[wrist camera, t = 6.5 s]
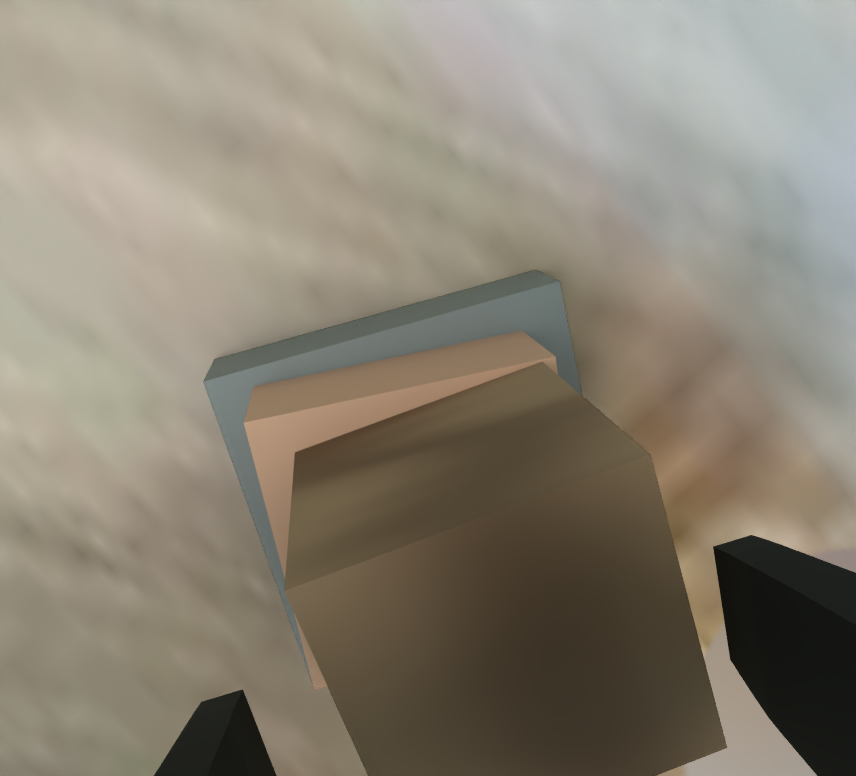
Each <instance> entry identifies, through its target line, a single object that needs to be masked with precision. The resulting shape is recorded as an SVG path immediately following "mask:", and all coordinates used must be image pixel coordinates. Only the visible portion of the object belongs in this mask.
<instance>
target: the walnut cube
mask: <svg viewBox="0 0 856 776" xmlns="http://www.w3.org/2000/svg"><path fill="white" fill-rule="evenodd" d="M284 592H285V594H286V596H287V598H288V601H289V603H290V605H291V607H292V609H293V612H294V614H295V616H296V618H297V620H298V623H299V625H300V627H301V629H302V631H303V634H304V636H305V638H306V640H307V642H308V645H309V647H310V649H311V651H312V653H313V655H314V658H315V660H316V662H317V664H318V666H319V669H320V671H321V673H322V675H323V677H324V680H325V682H326V684H327V686H328V688H329V691H330V693H331V695H332V697H333V699H334V702H335V704H336V706H337V708H338V710H339V713H340V715H341V717H342V719H343V721H344V724H345V726H346V728H347V730H348V732H349V735H350V737H351V739H352V741H353V743H354V745H355V748H356V750H357V752H358V754H359V756H360V759H361V761H362V763H363V765H364V767H365V770H366V772H367V774H368V776H656V775H658V774H661V773H664V772H666V771H669V770H671V769H674V768H676V767H679V766H681V765H684V764H687V763H689V762H692V761H694V760H696V759H699V758H702V757H705V756H707V755H710V754H712V753H714V752H717V751H720V750H722V749H725V748H727V746H726V741H725V738H724V734H723V730H722V726H721V722H720V718H719V715H718V711H717V707H716V703H715V699H714V696H713V692H712V688H711V684H710V680H709V677H708V673H707V669H706V665H705V661H704V657H703V654H702V650H701V646H700V642H699V638H698V635H697V631H696V627H695V623H694V619H693V615H692V612H691V608H690V604H689V600H688V596H687V593H686V589H685V585H684V581H683V577H682V573H681V570H680V566H679V562H678V558H677V554H676V551H675V547H674V543H673V539H672V535H671V532H670V528H669V524H668V520H667V516H666V512H665V509H664V505H663V501H662V497H661V493H660V490H659V486H658V482H657V478H656V474H655V470H654V467H653V463H652V459H651V455H650V454H649V453H648V452H647V451H646V450H644V449H643V448H642V447H641V446H640V445H639V444H638V443H636V442H635V441H634V440H633V439H632V438H631V437H629V436H628V435H627V434H626V433H625V432H624V431H622V430H621V429H620V428H619V427H618V426H617V425H615V424H614V423H613V422H612V421H611V420H610V419H608V418H607V417H606V416H605V415H604V414H603V413H601V412H600V411H599V410H598V409H597V408H596V407H594V406H593V405H592V404H591V403H590V402H589V401H587V400H586V399H585V398H584V397H583V396H582V395H580V394H579V393H578V392H577V391H576V390H575V389H574V388H572V387H571V386H570V385H569V384H568V383H567V382H565V381H564V380H563V379H562V378H561V377H560V376H558V375H557V374H556V373H555V372H554V371H553V370H551V369H550V368H549V367H548V366H547V365H546V364H544V363H543V362H540V363H537V364H534V365H532V366H529V367H526V368H523V369H521V370H518V371H515V372H513V373H510V374H507V375H504V376H502V377H499V378H496V379H493V380H491V381H488V382H485V383H483V384H480V385H477V386H474V387H472V388H469V389H466V390H463V391H461V392H458V393H455V394H452V395H450V396H447V397H444V398H442V399H439V400H436V401H433V402H431V403H428V404H425V405H422V406H420V407H417V408H414V409H412V410H409V411H406V412H403V413H401V414H398V415H395V416H392V417H390V418H387V419H384V420H381V421H379V422H376V423H373V424H371V425H368V426H365V427H362V428H360V429H357V430H354V431H352V432H349V433H346V434H343V435H341V436H338V437H335V438H332V439H330V440H327V441H324V442H322V443H319V444H316V445H313V446H311V447H308V448H305V449H303V450H300V451H297V452H295V457H294V470H293V483H292V496H291V509H290V522H289V535H288V548H287V561H286V574H285V587H284Z"/></svg>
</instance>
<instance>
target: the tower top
mask: <svg viewBox="0 0 856 776" xmlns="http://www.w3.org/2000/svg"><path fill="white" fill-rule="evenodd" d="M540 362H543V363H544V364H546V365H547V366H548V367H549V368H550V369H551V370H553V371H554V372H555V373H556V374H557V375H558V372H557V364H556V357H555V356H554V355H553V354H552V353H550V352H549V351H548V350H546V349H545V348H544V347H543V346H541V345H540V344H539V343H537V342H536V341H535V340H534V339H532V338H531V337H530V336H529V335H527V334H526V333H525V332H523V331H517V332H512V333H508V334H503V335H498V336H493V337H488V338H484V339H479V340H474V341H469V342H464V343H460V344H455V345H450V346H445V347H440V348H436V349H431V350H426V351H421V352H416V353H412V354H407V355H402V356H397V357H392V358H388V359H383V360H378V361H373V362H368V363H364V364H359V365H354V366H349V367H344V368H340V369H335V370H330V371H325V372H320V373H316V374H311V375H306V376H301V377H296V378H292V379H287V380H282V381H277V382H272V383H268V384H263V385H258V386H253V390H252V394H251V397H250V401H249V405H248V408H247V412H246V416H245V419H244V426H245V430H246V434H247V438H248V441H249V445H250V449H251V453H252V457H253V460H254V464H255V468H256V472H257V475H258V479H259V483H260V487H261V491H262V494H263V498H264V502H265V506H266V510H267V513H268V517H269V521H270V525H271V528H272V532H273V536H274V540H275V544H276V547H277V551H278V555H279V559H280V563H281V566H282V570H283V574H284V578H285V574H286V561H287V548H288V535H289V522H290V509H291V496H292V483H293V470H294V457H295V452H297V451H300V450H303V449H305V448H308V447H311V446H313V445H316V444H319V443H322V442H324V441H327V440H330V439H332V438H335V437H338V436H341V435H343V434H346V433H349V432H352V431H354V430H357V429H360V428H362V427H365V426H368V425H371V424H373V423H376V422H379V421H381V420H384V419H387V418H390V417H392V416H395V415H398V414H401V413H403V412H406V411H409V410H412V409H414V408H417V407H420V406H422V405H425V404H428V403H431V402H433V401H436V400H439V399H442V398H444V397H447V396H450V395H452V394H455V393H458V392H461V391H463V390H466V389H469V388H472V387H474V386H477V385H480V384H483V383H485V382H488V381H491V380H493V379H496V378H499V377H502V376H504V375H507V374H510V373H513V372H515V371H518V370H521V369H523V368H526V367H529V366H532V365H534V364H537V363H540ZM294 616H295V614H294ZM295 619H296V623H297V627H298V631H299V634H300V638H301V642H302V646H303V650H304V653H305V657H306V661H307V665H308V668H309V672H310V676H311V680H312V684H313V687H314V690H318V689H322V688H326V687H328V686H327V684H326V682H325V680H324V677H323V675H322V673H321V671H320V669H319V666H318V664H317V662H316V660H315V658H314V655H313V653H312V651H311V649H310V647H309V645H308V642H307V640H306V638H305V636H304V634H303V631H302V629H301V627H300V625H299V623H298V620H297V618H296V616H295Z"/></svg>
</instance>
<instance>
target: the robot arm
mask: <svg viewBox="0 0 856 776" xmlns="http://www.w3.org/2000/svg"><path fill="white" fill-rule="evenodd" d="M713 548H714V555H715V561H716V568H717V575H718V581H719V588H720V594H721V601H722V608H723V614H724V621H725V627H726V634H727V641H728V647H729V653H730V660H731V661H732V663H733V664H734V666H735V667H736V669H737V670H738V672H739V674H740V675H741V677H742V678H743V680H744V681H745V683H746V685H747V686H748V688H749V689H750V691H751V692H752V694H753V695H754V697H755V698H756V700H757V701H758V703H759V704H760V706H761V707H762V709H763V710H764V711H765V713H766V714H767V716H768V717H769V719H770V720H771V721H772V722H773V724H774V725H775V726H776V727H777V728H778V730H779V731H780V732H781V733H782V734H783V736H784V737H785V738H786V739H787V740H788V742H789V743H790V744H791V745H792V746H793V747H794V749H795V750H796V751H797V752H798V753H799V755H800V756H801V757H802V758H803V759H804V760H805V762H806V763H807V764H808V765H809V766H810V768H811V769H812V770H813V771H814V772H815V773H816V775H817V776H856V573H855V572H852V571H849V570H846V569H844V568H841V567H839V566H836V565H833V564H831V563H828V562H825V561H823V560H820V559H817V558H815V557H812V556H809V555H807V554H804V553H801V552H799V551H796V550H793V549H791V548H788V547H785V546H783V545H780V544H777V543H774V542H771V541H769V540H766V539H763V538H759V537H756V536H753V535H750V536H747V537H744V538H740V539H737V540H734V541H731V542H727V543H724V544H721V545H717V546H714V547H713ZM154 776H276V774H275V771H274V768H273V766H272V763H271V761H270V758H269V756H268V753H267V750H266V748H265V745H264V743H263V740H262V738H261V735H260V732H259V730H258V727H257V725H256V722H255V720H254V717H253V714H252V712H251V709H250V707H249V704H248V702H247V699H246V696H245V694H244V691H243V690H239V691H236V692H233V693H230V694H226V695H223V696H220V697H216V698H213V699H210V700H206V701H203V702H201V703H200V705H199V706H198V708H197V709H196V711H195V712H194V714H193V715H192V717H191V718H190V720H189V721H188V723H187V725H186V726H185V728H184V729H183V731H182V732H181V734H180V736H179V737H178V739H177V740H176V742H175V744H174V745H173V747H172V748H171V750H170V751H169V753H168V755H167V756H166V758H165V759H164V761H163V762H162V764H161V766H160V767H159V769H158V770H157V772H156V773H155V775H154Z"/></svg>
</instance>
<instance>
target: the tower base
mask: <svg viewBox="0 0 856 776" xmlns="http://www.w3.org/2000/svg"><path fill="white" fill-rule="evenodd" d="M517 331H523V332H525V333H526V334H527V335H529V336H530V337H531V338H532V339H534V340H535V341H536V342H537V343H539V344H540V345H541V346H543V347H544V348H545V349H546V350H548V351H549V352H550V353H552V354H553V355H554V356H555V357H556V364H557V372H558V376H560V377H561V378H562V379H563V380H564V381H565V382H567V383H568V384H569V385H570V386H571V387H572V388H574V389H575V390H576V391H577V392H578V393H579V394H580V395H582V391H581V386H580V381H579V376H578V371H577V366H576V361H575V356H574V351H573V346H572V341H571V336H570V331H569V326H568V321H567V316H566V311H565V306H564V301H563V296H562V291H561V286H560V281H558V280H555V279H553V278H551V277H549V276H547V275H545V274H543V273H541V272H539V271H537V270H533V271H530V272H526V273H523V274H519V275H516V276H512V277H508V278H505V279H501V280H498V281H494V282H490V283H487V284H483V285H480V286H476V287H473V288H469V289H465V290H462V291H458V292H455V293H451V294H447V295H444V296H440V297H437V298H433V299H429V300H426V301H422V302H419V303H415V304H412V305H408V306H404V307H401V308H397V309H394V310H390V311H386V312H383V313H379V314H376V315H372V316H368V317H365V318H361V319H358V320H354V321H351V322H347V323H343V324H340V325H336V326H333V327H329V328H325V329H322V330H318V331H315V332H311V333H308V334H304V335H300V336H297V337H293V338H290V339H286V340H282V341H279V342H275V343H272V344H268V345H264V346H261V347H257V348H254V349H250V350H247V351H243V352H239V353H236V354H232V355H229V356H225V357H221V358H218V359H214V361H213V363H212V365H211V367H210V369H209V371H208V373H207V375H206V377H205V379H204V381H203V382H204V385H205V388H206V390H207V393H208V396H209V399H210V402H211V404H212V407H213V410H214V413H215V415H216V418H217V421H218V424H219V426H220V429H221V432H222V435H223V438H224V440H225V443H226V446H227V449H228V451H229V454H230V457H231V460H232V462H233V465H234V468H235V471H236V474H237V476H238V479H239V482H240V485H241V487H242V490H243V493H244V496H245V498H246V501H247V504H248V507H249V510H250V512H251V515H252V518H253V521H254V523H255V526H256V529H257V532H258V534H259V537H260V540H261V543H262V546H263V548H264V551H265V554H266V557H267V559H268V562H269V565H270V568H271V571H272V573H273V576H274V579H275V582H276V584H277V587H278V590H279V593H280V595H281V598H282V601H283V604H284V607H285V609H286V612H287V615H288V618H289V620H290V623H291V626H292V629H293V631H294V634H295V637H296V640H297V643H298V645H299V648H300V651H301V654H302V656H303V659H304V662H305V665H306V667H307V670H308V673H309V676H310V672H309V668H308V665H307V661H306V657H305V653H304V650H303V646H302V642H301V638H300V634H299V631H298V627H297V623H296V619H295V616H294V612H293V609H292V607H291V605H290V603H289V601H288V598H287V596H286V594H285V592H284V587H285V578H284V574H283V570H282V566H281V563H280V559H279V555H278V551H277V547H276V544H275V540H274V536H273V532H272V528H271V525H270V521H269V517H268V513H267V510H266V506H265V502H264V498H263V494H262V491H261V487H260V483H259V479H258V475H257V472H256V468H255V464H254V460H253V457H252V453H251V449H250V445H249V441H248V438H247V434H246V430H245V426H244V419H245V416H246V412H247V408H248V405H249V401H250V397H251V394H252V390H253V386H258V385H263V384H268V383H272V382H277V381H282V380H287V379H292V378H296V377H301V376H306V375H311V374H316V373H320V372H325V371H330V370H335V369H340V368H344V367H349V366H354V365H359V364H364V363H368V362H373V361H378V360H383V359H388V358H392V357H397V356H402V355H407V354H412V353H416V352H421V351H426V350H431V349H436V348H440V347H445V346H450V345H455V344H460V343H464V342H469V341H474V340H479V339H484V338H488V337H493V336H498V335H503V334H508V333H512V332H517ZM310 679H311V676H310ZM311 681H312V680H311Z"/></svg>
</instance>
